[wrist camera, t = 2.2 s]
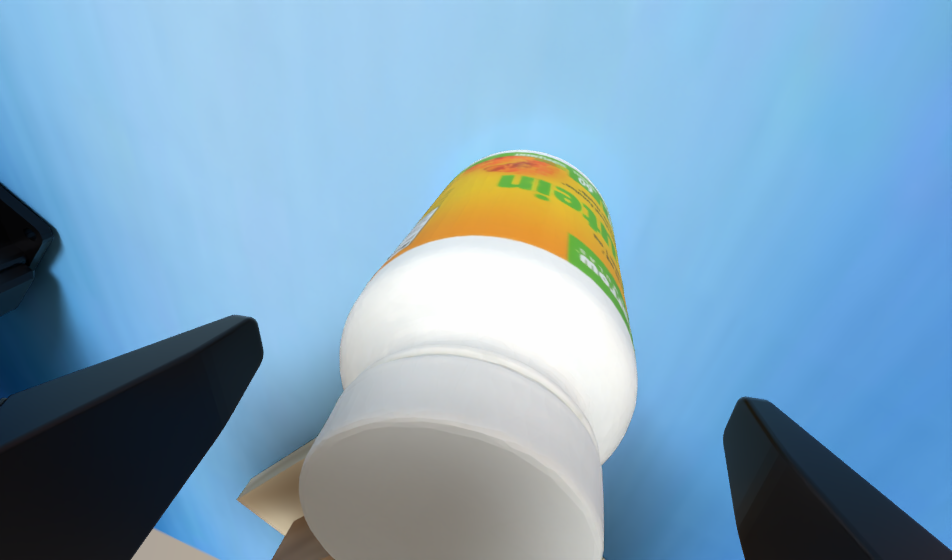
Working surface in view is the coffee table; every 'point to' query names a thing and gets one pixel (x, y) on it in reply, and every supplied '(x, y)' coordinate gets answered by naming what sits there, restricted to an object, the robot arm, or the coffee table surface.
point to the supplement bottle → (481, 379)
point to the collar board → (285, 507)
